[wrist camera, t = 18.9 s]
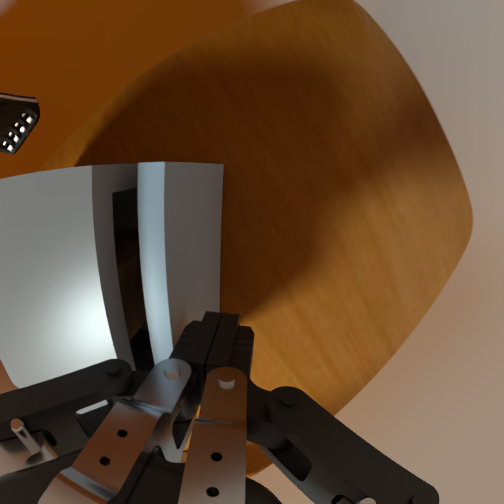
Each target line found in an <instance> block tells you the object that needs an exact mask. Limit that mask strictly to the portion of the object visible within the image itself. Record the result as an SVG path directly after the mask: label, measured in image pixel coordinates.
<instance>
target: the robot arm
mask: <svg viewBox="0 0 504 504" xmlns="http://www.w3.org/2000/svg"><path fill="white" fill-rule="evenodd" d="M253 344H254V332H253V331H252V329H251V327H248V326H240V315H239V314H229V313H220V312H211V311H206V312H205V314H204V317H203V319H202V321H196V320H193V321H192V322H190V323H189V324H188V325H186V326H185V328H184V330H183V332H182V334H181V336H180V338H179V340H178V341H177V343H176V345H175V347H174V349H173V351H172V353H171V354H170V356H169V358H168V359H165V360H162V361H160V362H158V363H157V364H156V365H155V366H154V368H153V369H152V370H150V371H132V369H131V366H130V364H129V363H128V362H126V361H124V360H121V359H109V360H106V361H103V362H100V363H97V364H94V365H91V366H89V367H86V368H83V369H80V370H77V371H74V372H71V373H68V374H65V375H62V376H59V377H56V378H53V379H50V380H46V381H43V382H40V383H37V384H33V385H30V386H27V387H23V388H20V389H17V390H13V391H10V392H6V393H2V394H0V474H1V476H0V504H282V503H281V502H280V501H279V500H278V498H277V497H276V496H275V495H274V494H273V493H272V492H271V491H269V490H268V489H267V488H266V487H264V486H263V485H261V484H260V483H257V482H256V481H254V480H252V479H250V478H247V477H246V440H247V441H250V442H253V443H255V444H258V445H260V448H261V450H262V451H263V452H264V453H265V454H266V456H267V457H268V458H269V459H270V460H271V461H272V462H273V463H274V464H275V465H276V466H277V467H278V468H279V469H280V470H281V471H282V472H283V474H284V475H285V476H286V477H287V478H288V479H289V480H290V481H291V482H293V483H294V485H296V486H297V487H298V488H299V489H300V490H301V491H302V492H303V493H304V494H305V495H306V496H307V497H308V498H309V499H310V500H311V501H313V502H314V503H315V504H439V495H438V492H437V491H436V489H435V488H434V487H433V486H431V485H430V484H428V483H426V482H425V481H423V480H422V479H420V478H418V477H416V476H415V475H414V474H412V473H411V472H409V471H408V470H406V469H405V468H403V467H402V466H400V465H399V464H397V463H396V462H394V461H393V460H391V459H390V458H388V457H387V456H385V455H384V454H382V453H381V452H380V451H379V450H377V449H375V448H374V447H373V446H372V445H370V444H369V443H367V442H366V441H365V440H364V439H362V438H361V437H359V436H358V435H357V434H356V433H354V432H353V431H352V430H350V429H349V428H348V427H346V426H345V425H344V424H343V423H341V422H340V421H339V420H337V419H336V418H335V417H334V416H332V415H331V414H330V413H329V412H328V411H326V410H325V409H324V408H323V407H321V406H320V405H319V404H318V403H317V402H315V401H314V400H313V399H312V398H311V397H309V396H308V395H307V394H306V393H305V392H303V391H302V390H300V389H298V388H295V387H289V386H284V387H278V388H276V389H274V390H272V391H271V392H270V391H267V390H264V389H262V388H260V387H258V386H256V385H255V384H254V383H253V382H252V381H251V379H250V372H251V365H252V355H253ZM104 400H106V401H107V403H108V404H106V405H104V406H101V407H99V408H96V409H94V410H91V411H88V412H86V413H83V414H78V413H76V412H77V411H78V410H80V409H83V408H86V407H88V406H91V405H94V404H96V403H99V402H102V401H104ZM199 405H201V407H200V412H199V417H198V419H197V416H196V413H197V410H198V407H199ZM191 431H192V433H191ZM190 434H191V438H190V443H189V448H188V452H183V450H184V448H185V446H186V443H187V441H188V438H189V436H190Z"/></svg>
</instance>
